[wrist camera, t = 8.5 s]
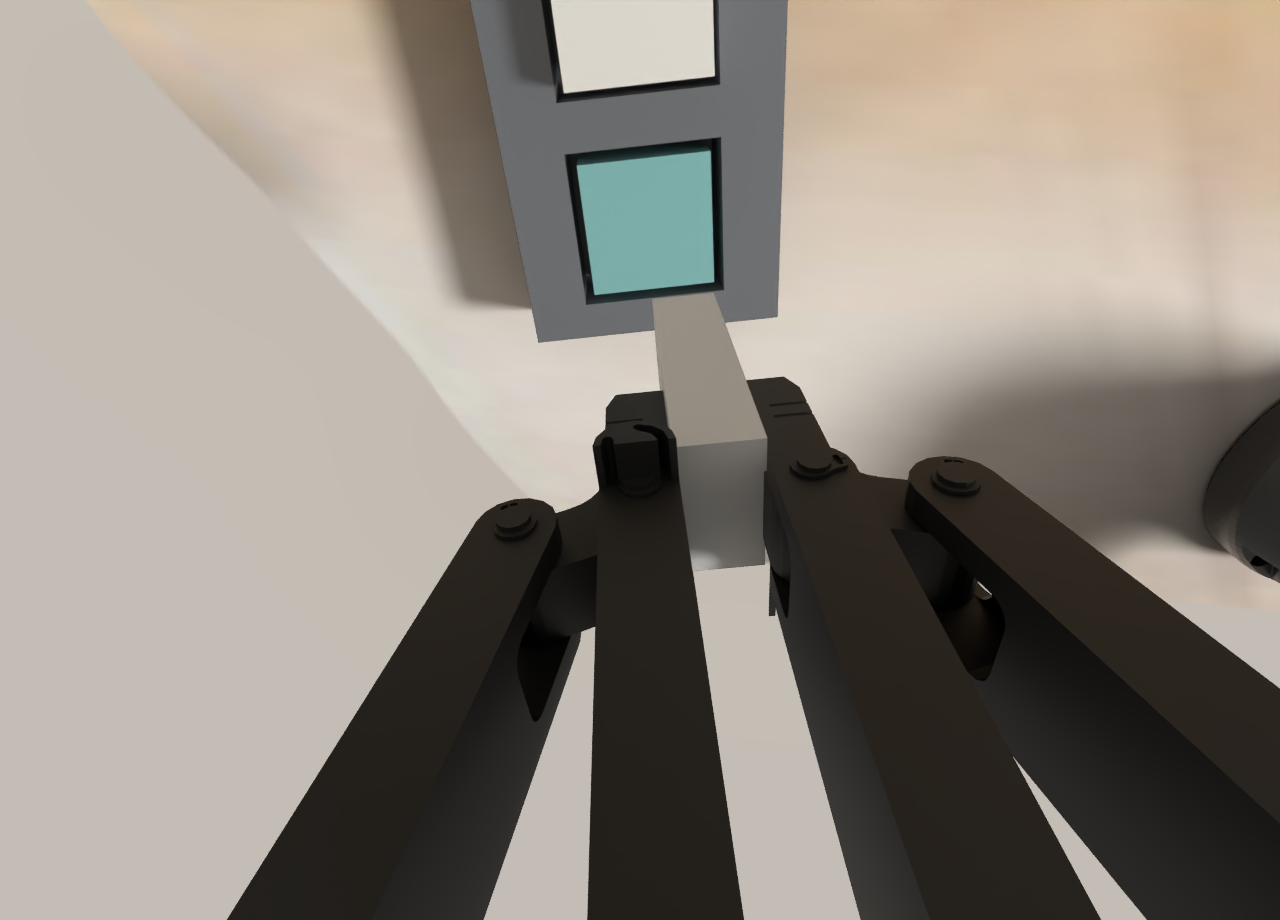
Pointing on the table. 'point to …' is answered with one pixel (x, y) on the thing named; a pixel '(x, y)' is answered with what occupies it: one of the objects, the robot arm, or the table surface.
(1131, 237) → the table surface
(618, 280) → the teal key
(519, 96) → the keyboard
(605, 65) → the white key
